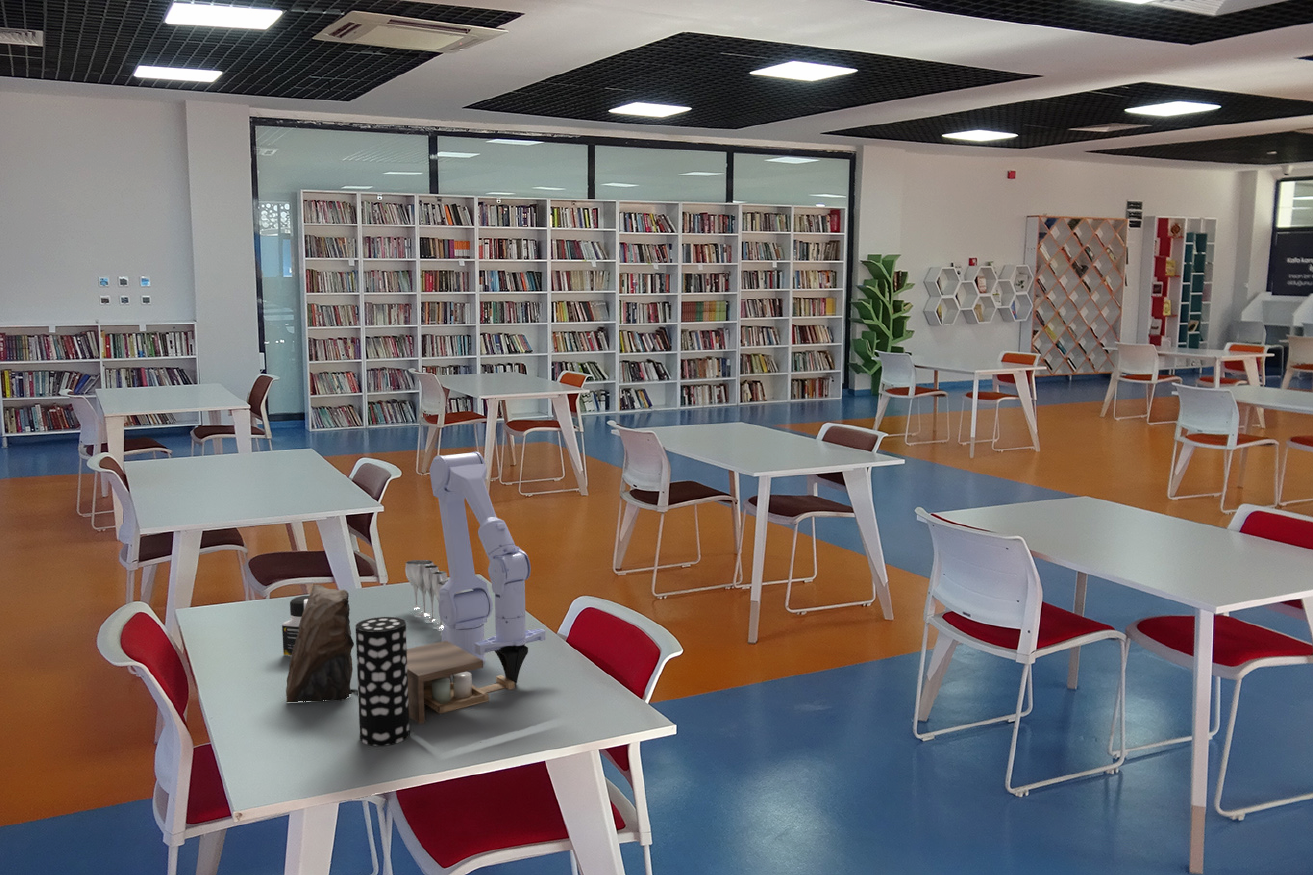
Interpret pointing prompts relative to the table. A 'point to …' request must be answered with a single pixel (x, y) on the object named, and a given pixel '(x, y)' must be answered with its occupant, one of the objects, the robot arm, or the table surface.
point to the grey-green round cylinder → (441, 690)
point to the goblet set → (426, 582)
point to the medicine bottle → (293, 624)
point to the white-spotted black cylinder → (382, 680)
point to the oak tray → (477, 697)
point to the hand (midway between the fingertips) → (511, 682)
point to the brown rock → (322, 649)
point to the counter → (434, 670)
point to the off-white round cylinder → (462, 685)
